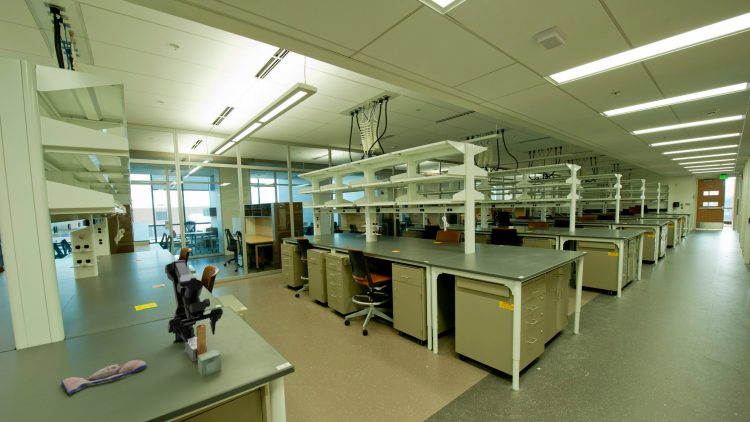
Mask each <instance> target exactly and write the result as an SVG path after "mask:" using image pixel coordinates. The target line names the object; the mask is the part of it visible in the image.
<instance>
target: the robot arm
mask: <svg viewBox="0 0 750 422" xmlns="http://www.w3.org/2000/svg"><path fill="white" fill-rule="evenodd" d="M164 273H165V274H166V275H167V277H166V278H167V279H169V280H170V281H171V282H172V287H173V293H174V298H175V304H176V309H175V312H174V314H173V318H172V319H169V321H168V324H167V332H168V334H171V333H172V334H173V335H174V334H175V335H174V337H175V338H174V340H173V343H174V344H175V343H185V342H186V343H188V339H190V338H194V337H196V334H195V327H194V326H196V324H197V322H200V321H204V320H206V319H207V320H208V319H209V321H210V322H209V324H210V330H211V333H212V336H214V335H216V334H215V333H216V323H217V322H218V321H219V320H221V318H222V317H223V313H224V310H223V308H222V307H217V308H213V309H210V313H205V312H206V309H207V308H209V307H211V301H210V298H204V299H203V300H202V301H201V298H200V296H201V295H202V291H203V287H204V282H203V281H202V280H199V279H197V277H196V276H194V275H191V274H190V271H189V269H188V262H187V261H186V260H185V259H181V260H180V259H179V260H174V261H172V262H170V263H168V264H166V265H165V266H164Z"/></svg>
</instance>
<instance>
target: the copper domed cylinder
mask: <svg viewBox="0 0 750 422" xmlns="http://www.w3.org/2000/svg"><path fill="white" fill-rule="evenodd" d="M195 329H196V337H197V350H196V356H197V361H198V355H201V354H203V353H206V345H207V337H206V336H207V335H206V330H207V329H206V324H200V325H197V326H196V328H195Z"/></svg>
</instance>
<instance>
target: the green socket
mask: <svg viewBox="0 0 750 422" xmlns="http://www.w3.org/2000/svg"><path fill="white" fill-rule="evenodd" d="M221 359H222V357H221V353H220V352H219V351H218V350H217V349H213V350H209V351H207V352H206V353H203V354H201V355H198V360H197V371H198V373H199V375H200V376H201V378H205V377H207V376H210V375H213V374H216V373H218V372H220V371H222V360H221Z"/></svg>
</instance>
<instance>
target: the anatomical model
mask: <svg viewBox="0 0 750 422" xmlns="http://www.w3.org/2000/svg"><path fill="white" fill-rule="evenodd" d="M146 367H148V364H147V362H145V361H144V360H140V359H138V358H136V359H132V360H129V361H127V362H126V363H124V364H120V363H119V364H118V363H115V364H112V365H109V366H106V367H103V368H100V369H99V370H97V371H95V372H94V373H93V374H92V375H90V376H89V377H88V378H83V377H74V376H73V377H72V376H71V377H67V378H65V379H63V380H61V385H62V387H63V389H64V390H65V391H66V392H67V393H68V394H69V395H71V394H73V393H76V392H78V391H80V390H83V389H85V388H86V387H88V386H90V385H98V384H101V383H104V382H111V381H115V380H117V379H120V378H122V377H124V376H126V375H129V374H131V373H132V374H133V373H134V372H139V371H142V370H143V369H145V368H146Z"/></svg>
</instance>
